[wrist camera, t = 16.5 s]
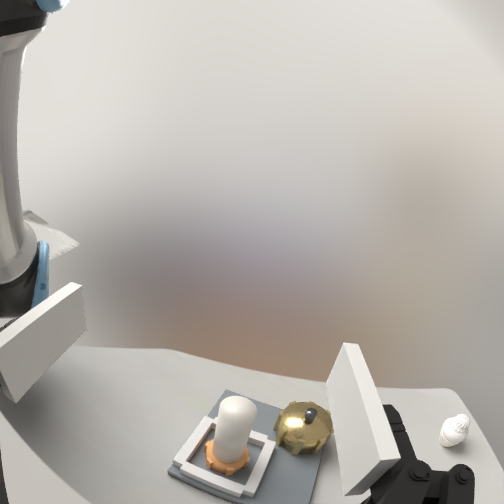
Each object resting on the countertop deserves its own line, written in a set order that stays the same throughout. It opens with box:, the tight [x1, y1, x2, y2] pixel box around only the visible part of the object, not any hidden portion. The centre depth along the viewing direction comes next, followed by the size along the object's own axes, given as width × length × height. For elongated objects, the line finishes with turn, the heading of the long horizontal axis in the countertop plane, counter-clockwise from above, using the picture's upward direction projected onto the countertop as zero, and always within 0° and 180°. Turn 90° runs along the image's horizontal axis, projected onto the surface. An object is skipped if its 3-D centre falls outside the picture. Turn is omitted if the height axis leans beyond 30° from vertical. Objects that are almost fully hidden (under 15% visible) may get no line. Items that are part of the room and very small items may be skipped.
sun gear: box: [273, 401, 334, 456], centre depth 34 cm, size 8×8×6 cm
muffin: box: [439, 414, 470, 447], centre depth 31 cm, size 6×6×7 cm
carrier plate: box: [168, 390, 324, 504], centre depth 32 cm, size 18×19×2 cm
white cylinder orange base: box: [204, 396, 257, 476], centre depth 28 cm, size 6×6×12 cm
